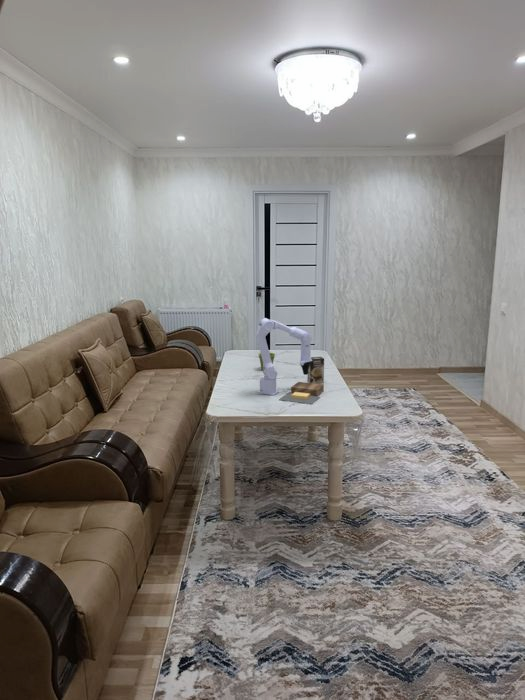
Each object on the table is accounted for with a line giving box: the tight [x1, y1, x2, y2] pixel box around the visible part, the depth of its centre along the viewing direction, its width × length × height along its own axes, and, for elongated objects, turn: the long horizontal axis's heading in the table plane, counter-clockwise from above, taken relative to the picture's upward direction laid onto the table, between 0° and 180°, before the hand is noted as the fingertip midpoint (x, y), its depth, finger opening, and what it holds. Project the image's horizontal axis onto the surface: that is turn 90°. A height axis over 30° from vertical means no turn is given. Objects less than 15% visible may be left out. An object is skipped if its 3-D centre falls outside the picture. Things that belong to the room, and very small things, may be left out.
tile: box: [291, 392, 310, 400], centre depth 290 cm, size 9×6×2 cm, turn 66°
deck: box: [290, 381, 325, 397], centre depth 301 cm, size 16×12×4 cm
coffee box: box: [306, 356, 325, 384], centre depth 319 cm, size 9×6×16 cm
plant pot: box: [257, 352, 276, 372], centre depth 351 cm, size 12×12×11 cm
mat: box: [278, 392, 321, 405], centre depth 290 cm, size 20×14×1 cm
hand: (305, 374), depth 305 cm, fingers closed
